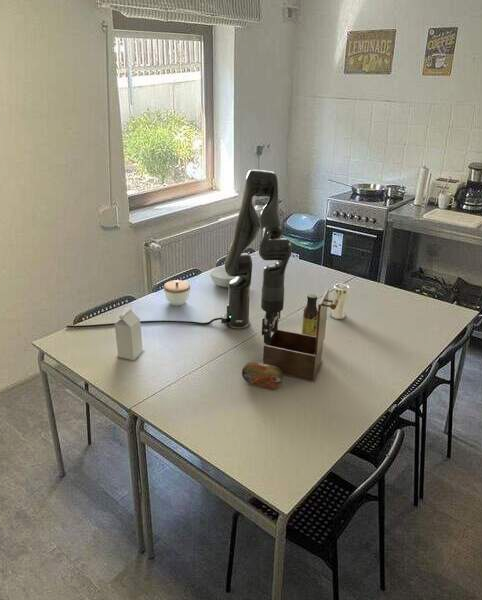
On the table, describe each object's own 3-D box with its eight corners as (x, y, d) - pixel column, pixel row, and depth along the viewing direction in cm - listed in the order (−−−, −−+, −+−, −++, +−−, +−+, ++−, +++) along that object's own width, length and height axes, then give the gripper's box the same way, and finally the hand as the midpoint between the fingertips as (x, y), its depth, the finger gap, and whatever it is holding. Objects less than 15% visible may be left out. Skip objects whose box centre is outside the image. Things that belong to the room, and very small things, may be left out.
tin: (241, 382, 179) (241, 362, 176) (244, 377, 182) (244, 358, 178) (281, 391, 175) (282, 371, 171) (283, 386, 177) (284, 366, 174)
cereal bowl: (207, 289, 251) (207, 276, 248) (214, 276, 266) (213, 264, 263) (240, 292, 249) (240, 279, 246) (244, 279, 264) (245, 267, 260)
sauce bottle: (315, 342, 205) (319, 300, 196) (300, 341, 206) (304, 298, 197) (316, 335, 211) (320, 293, 202) (301, 333, 212) (305, 292, 203)
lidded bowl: (176, 294, 246) (175, 274, 241) (195, 301, 239) (195, 280, 234) (159, 303, 236) (157, 282, 231) (178, 310, 230) (178, 289, 225)
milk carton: (142, 351, 197) (139, 309, 189) (133, 360, 191) (130, 318, 183) (127, 348, 199) (123, 306, 191) (118, 357, 193) (113, 314, 185)
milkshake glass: (336, 320, 223) (340, 291, 216) (327, 314, 228) (330, 285, 222) (348, 317, 226) (352, 288, 219) (339, 311, 231) (342, 282, 225)
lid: (318, 304, 167) (333, 306, 165) (326, 288, 179) (341, 290, 177) (314, 355, 176) (329, 358, 174) (322, 336, 188) (336, 339, 186)
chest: (262, 369, 187) (263, 345, 182) (273, 351, 199) (274, 328, 194) (313, 381, 181) (315, 356, 176) (321, 361, 192) (323, 337, 188)
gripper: (268, 285, 170) (266, 326, 178) (255, 302, 159) (253, 345, 166) (289, 289, 168) (286, 330, 175) (277, 306, 156) (275, 349, 163)
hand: (270, 337), depth 170 cm, fingers open, 8 cm apart
